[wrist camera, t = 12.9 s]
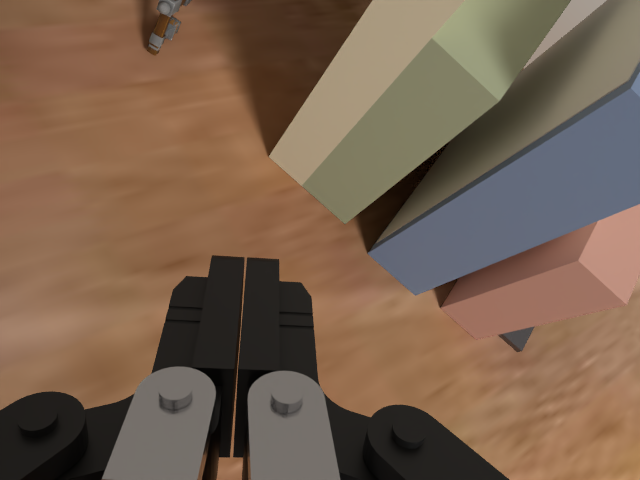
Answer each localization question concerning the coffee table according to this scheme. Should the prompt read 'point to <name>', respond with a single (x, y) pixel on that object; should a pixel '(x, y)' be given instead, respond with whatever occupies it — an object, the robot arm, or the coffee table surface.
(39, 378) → the coffee table surface
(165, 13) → the brown irregular piece
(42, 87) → the coffee table surface
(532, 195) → the blue book
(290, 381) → the robot arm
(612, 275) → the book rack
